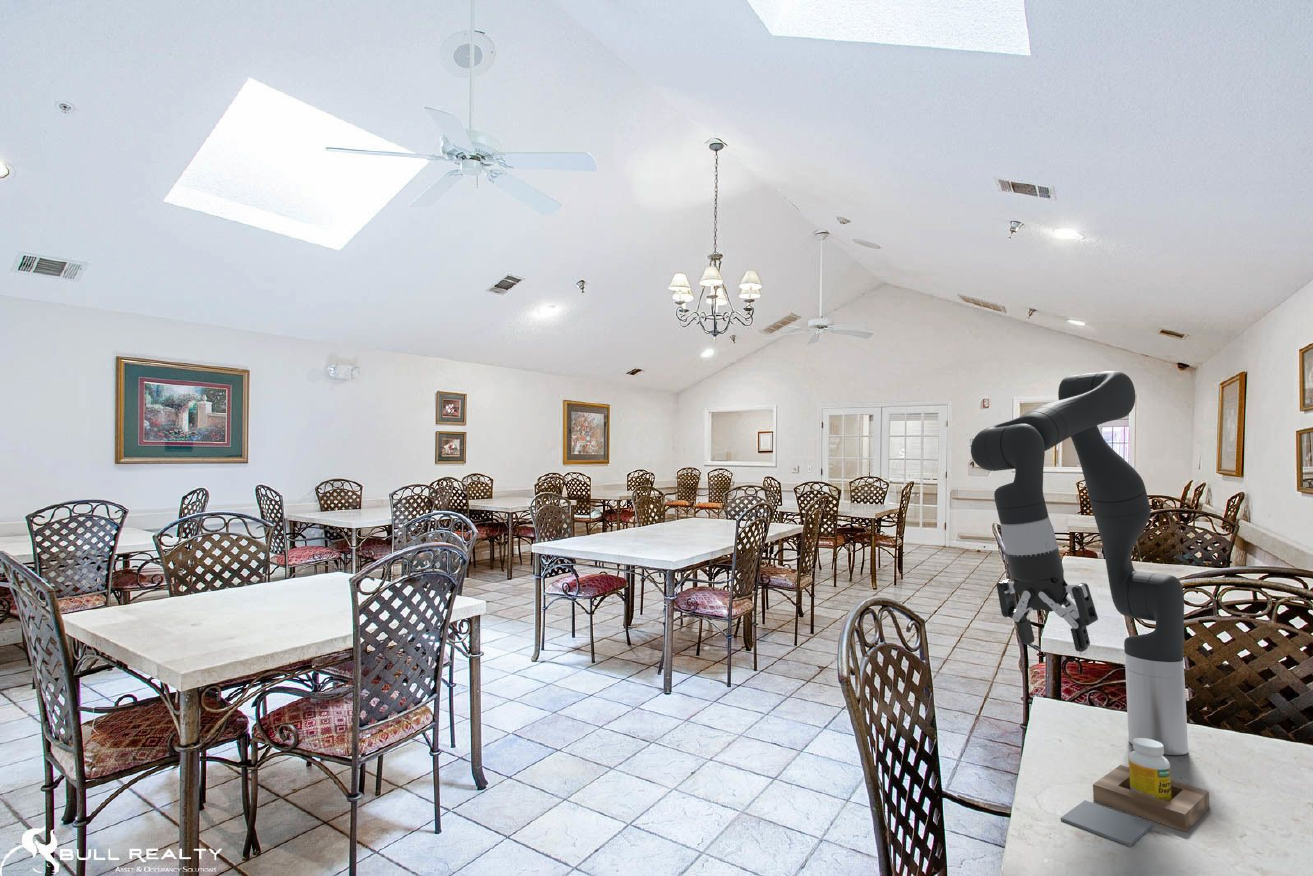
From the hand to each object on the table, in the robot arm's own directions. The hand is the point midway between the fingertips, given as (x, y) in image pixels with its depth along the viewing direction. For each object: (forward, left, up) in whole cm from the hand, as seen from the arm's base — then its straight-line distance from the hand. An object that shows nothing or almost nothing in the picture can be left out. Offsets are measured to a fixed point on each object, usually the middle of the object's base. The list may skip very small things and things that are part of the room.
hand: (1054, 646), depth 105 cm
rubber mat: (0, +6, -25) cm, 26 cm away
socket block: (-13, +8, -25) cm, 29 cm away
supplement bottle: (-13, +8, -25) cm, 29 cm away
